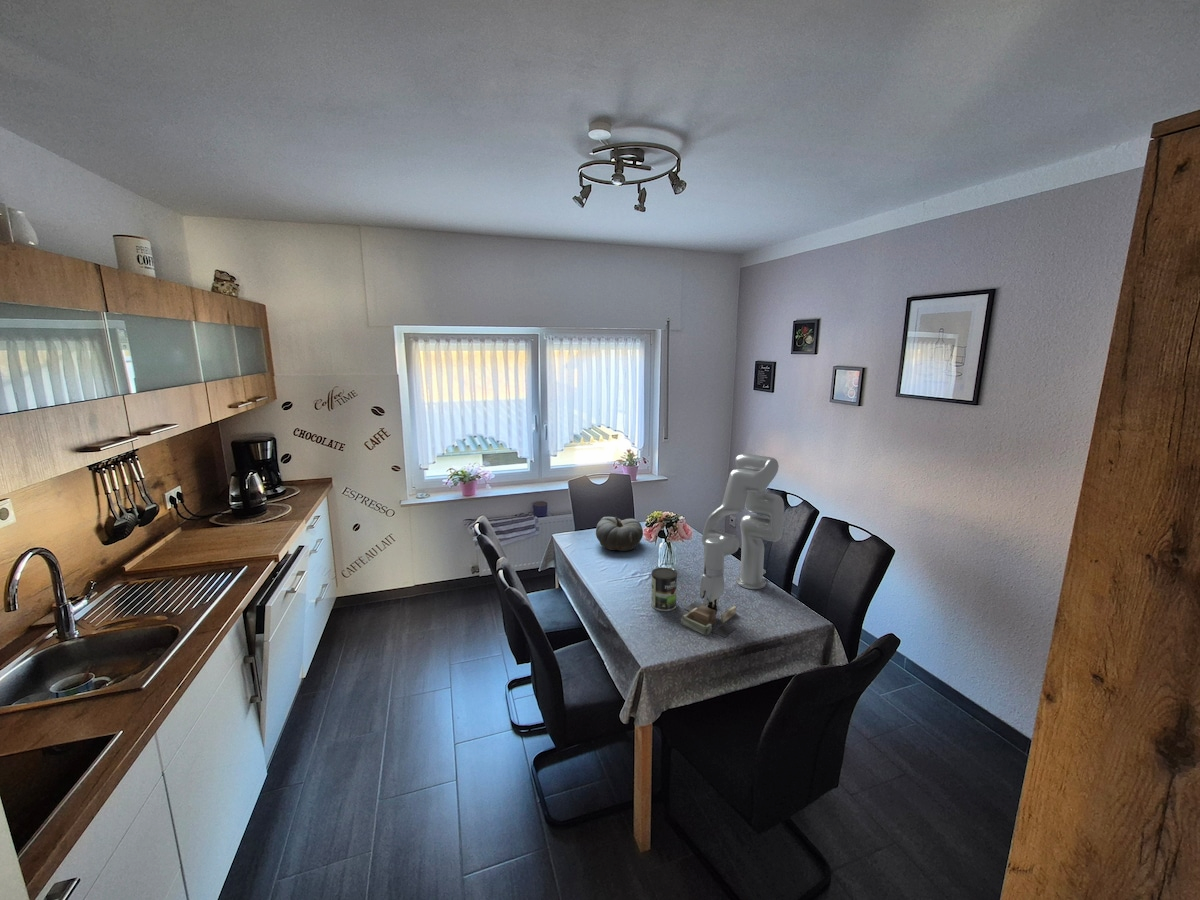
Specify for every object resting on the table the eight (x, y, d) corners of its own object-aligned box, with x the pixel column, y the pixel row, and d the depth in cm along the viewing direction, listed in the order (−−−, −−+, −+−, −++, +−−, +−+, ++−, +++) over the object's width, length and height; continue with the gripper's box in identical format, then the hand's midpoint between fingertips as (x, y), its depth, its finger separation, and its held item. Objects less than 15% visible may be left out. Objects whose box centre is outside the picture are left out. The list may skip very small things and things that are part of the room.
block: (701, 616, 186) (702, 605, 185) (715, 622, 182) (715, 610, 181) (693, 623, 182) (693, 611, 181) (707, 629, 178) (707, 616, 177)
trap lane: (700, 598, 199) (700, 592, 199) (748, 618, 184) (749, 611, 183) (669, 618, 185) (669, 611, 184) (719, 641, 170) (719, 634, 169)
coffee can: (681, 606, 194) (682, 573, 191) (663, 614, 188) (663, 581, 185) (664, 596, 202) (664, 565, 199) (645, 603, 196) (646, 571, 193)
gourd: (590, 534, 266) (595, 505, 261) (633, 537, 271) (639, 509, 266) (597, 556, 242) (603, 525, 237) (644, 560, 247) (651, 530, 243)
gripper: (715, 561, 190) (714, 603, 193) (693, 573, 179) (692, 618, 183) (732, 567, 184) (730, 610, 188) (711, 580, 174) (709, 625, 178)
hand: (711, 614), depth 186 cm, fingers closed
